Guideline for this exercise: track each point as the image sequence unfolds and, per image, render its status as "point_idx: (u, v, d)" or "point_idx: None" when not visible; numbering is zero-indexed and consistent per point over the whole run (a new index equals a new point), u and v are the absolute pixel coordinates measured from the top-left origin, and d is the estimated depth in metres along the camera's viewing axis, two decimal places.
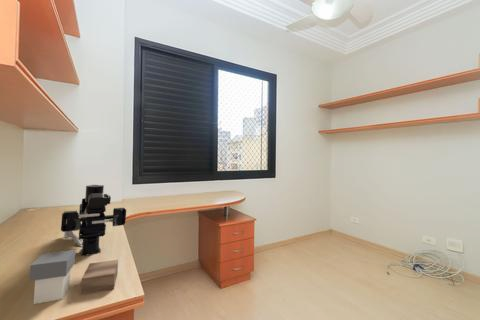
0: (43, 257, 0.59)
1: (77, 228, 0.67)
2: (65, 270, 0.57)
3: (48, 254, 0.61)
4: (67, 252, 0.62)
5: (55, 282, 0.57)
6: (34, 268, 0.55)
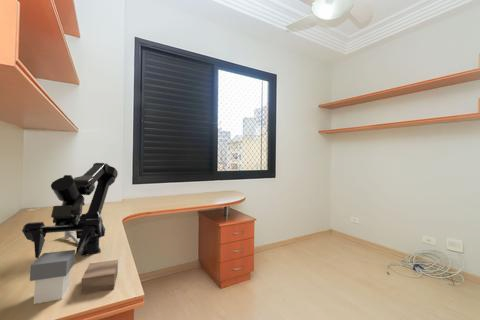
0: (43, 257, 0.59)
1: None
2: (65, 270, 0.57)
3: (48, 254, 0.61)
4: (67, 252, 0.62)
5: (55, 282, 0.57)
6: (34, 268, 0.55)
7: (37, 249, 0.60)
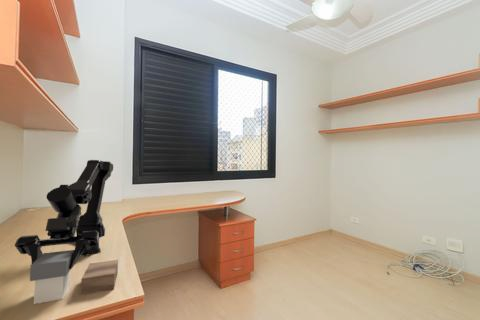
0: (43, 257, 0.59)
1: None
2: (65, 270, 0.57)
3: (48, 254, 0.61)
4: (67, 252, 0.62)
5: (55, 282, 0.57)
6: (34, 268, 0.55)
7: None
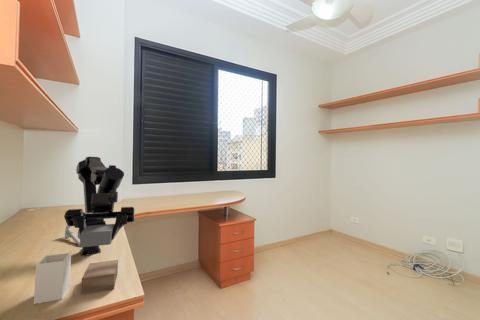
0: (89, 228, 0.65)
1: None
2: (109, 239, 0.63)
3: (92, 226, 0.67)
4: (108, 225, 0.68)
5: (55, 282, 0.57)
6: (83, 236, 0.61)
7: None
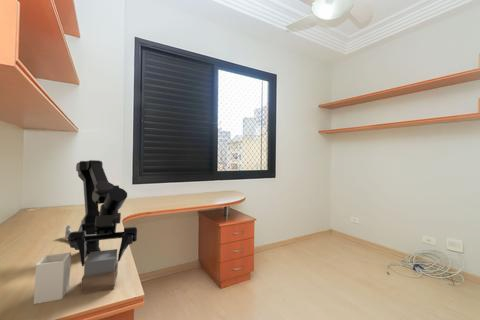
0: (92, 255, 0.65)
1: None
2: (113, 267, 0.64)
3: (95, 253, 0.67)
4: (111, 251, 0.69)
5: (55, 282, 0.57)
6: (87, 265, 0.61)
7: (83, 257, 0.63)
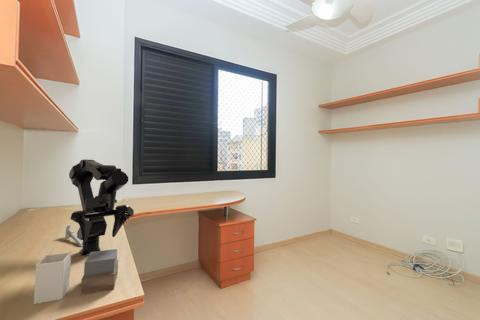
0: (92, 255, 0.65)
1: None
2: (113, 267, 0.64)
3: (95, 253, 0.67)
4: (111, 251, 0.69)
5: (55, 282, 0.57)
6: (87, 265, 0.61)
7: (83, 234, 0.71)
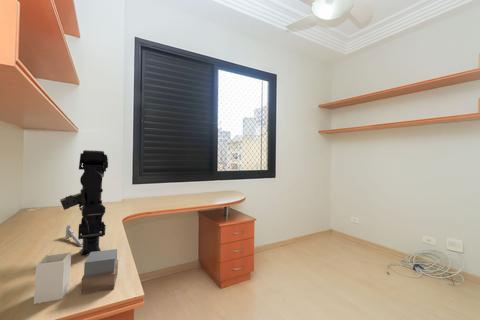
0: (92, 255, 0.65)
1: None
2: (113, 267, 0.64)
3: (95, 253, 0.67)
4: (111, 251, 0.69)
5: (55, 282, 0.57)
6: (87, 265, 0.61)
7: (86, 222, 0.79)
